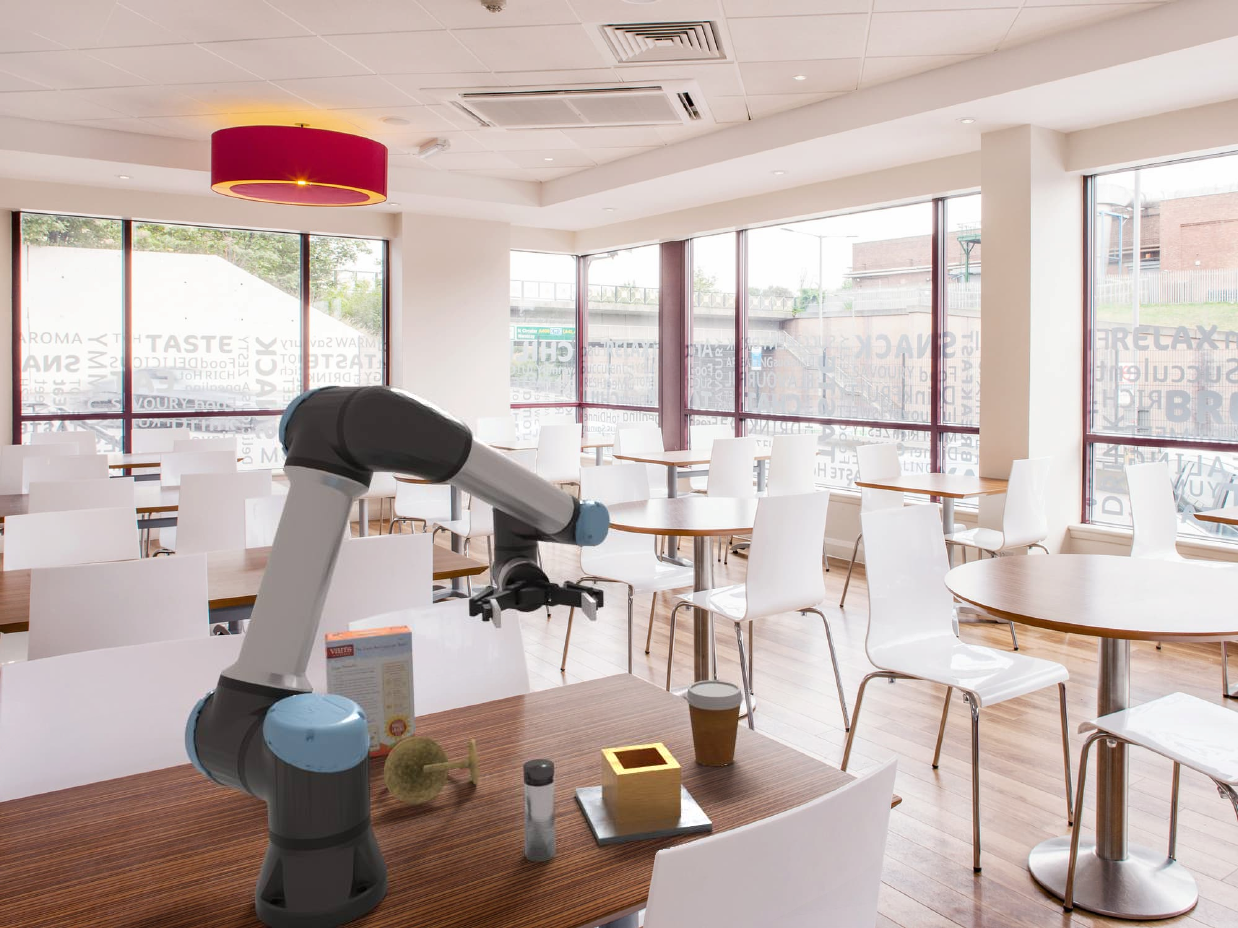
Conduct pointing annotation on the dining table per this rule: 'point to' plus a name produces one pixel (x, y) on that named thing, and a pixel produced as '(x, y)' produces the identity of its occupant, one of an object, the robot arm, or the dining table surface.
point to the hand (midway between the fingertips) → (546, 614)
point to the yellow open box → (640, 797)
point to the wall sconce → (422, 769)
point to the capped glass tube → (539, 810)
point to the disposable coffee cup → (714, 720)
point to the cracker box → (375, 680)
